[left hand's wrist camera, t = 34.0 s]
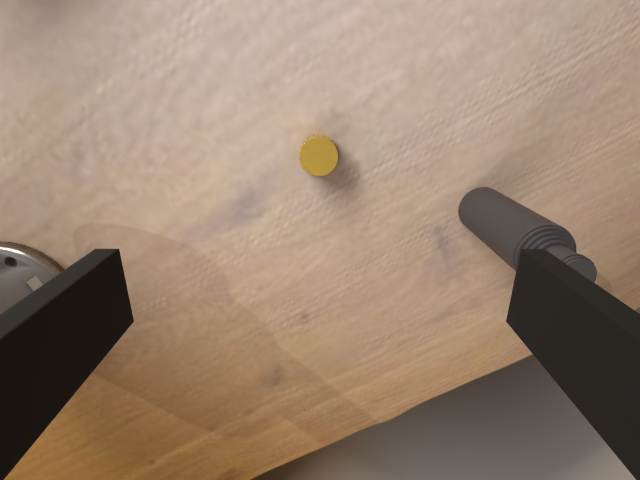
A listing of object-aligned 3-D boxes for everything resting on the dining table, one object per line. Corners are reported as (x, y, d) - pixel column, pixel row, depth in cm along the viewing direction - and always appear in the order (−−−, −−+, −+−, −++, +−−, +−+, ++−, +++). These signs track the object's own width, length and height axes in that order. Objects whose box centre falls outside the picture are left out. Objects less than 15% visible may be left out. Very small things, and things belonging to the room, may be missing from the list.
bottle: (500, 182, 42) (613, 236, 26) (504, 223, 44) (613, 298, 27) (455, 193, 42) (538, 254, 26) (461, 234, 44) (543, 314, 28)
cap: (293, 144, 40) (292, 147, 38) (328, 127, 40) (328, 129, 38) (309, 178, 42) (309, 183, 40) (343, 162, 41) (345, 166, 39)
